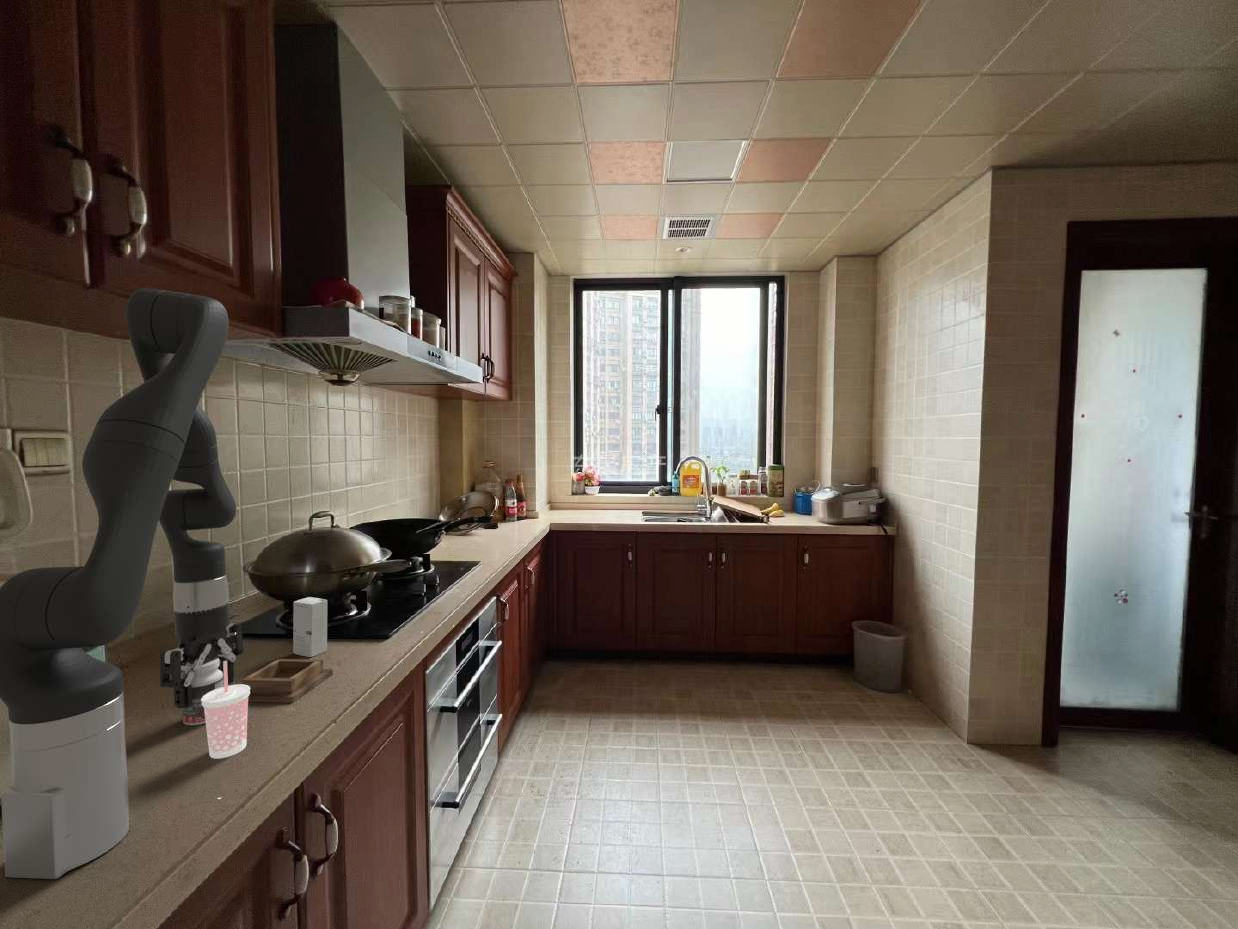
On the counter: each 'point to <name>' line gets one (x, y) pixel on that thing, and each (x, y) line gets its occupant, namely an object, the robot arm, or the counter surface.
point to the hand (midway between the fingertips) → (206, 694)
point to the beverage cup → (226, 718)
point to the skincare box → (310, 626)
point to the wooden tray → (285, 680)
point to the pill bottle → (202, 691)
